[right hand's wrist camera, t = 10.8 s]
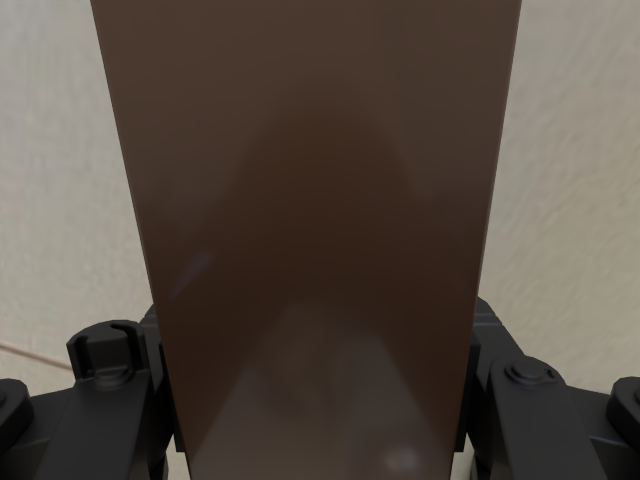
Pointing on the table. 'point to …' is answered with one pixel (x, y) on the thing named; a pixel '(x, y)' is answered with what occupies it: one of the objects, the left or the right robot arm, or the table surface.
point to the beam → (312, 220)
